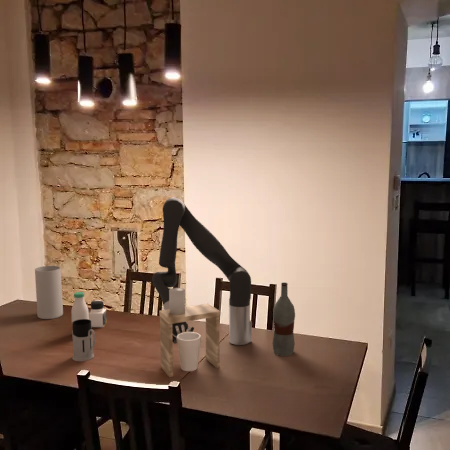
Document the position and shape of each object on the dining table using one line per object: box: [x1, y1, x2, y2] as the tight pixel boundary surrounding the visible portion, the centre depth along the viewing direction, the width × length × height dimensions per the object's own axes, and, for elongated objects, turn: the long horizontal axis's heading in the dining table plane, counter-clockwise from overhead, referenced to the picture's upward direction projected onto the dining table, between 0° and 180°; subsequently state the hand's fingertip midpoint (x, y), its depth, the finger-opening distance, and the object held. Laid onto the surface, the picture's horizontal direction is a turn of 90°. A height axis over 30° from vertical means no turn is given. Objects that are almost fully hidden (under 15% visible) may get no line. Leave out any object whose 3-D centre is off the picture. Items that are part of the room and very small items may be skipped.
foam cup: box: [176, 331, 202, 372], centre depth 199 cm, size 10×9×13 cm
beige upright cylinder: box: [169, 287, 186, 315], centre depth 195 cm, size 6×6×9 cm
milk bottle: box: [70, 291, 89, 333], centre depth 235 cm, size 8×8×20 cm
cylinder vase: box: [34, 265, 64, 320], centre depth 262 cm, size 12×12×25 cm
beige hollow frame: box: [158, 303, 221, 378], centre depth 199 cm, size 21×11×23 cm, turn 116°
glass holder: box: [71, 319, 96, 362], centre depth 208 cm, size 9×14×15 cm, turn 44°
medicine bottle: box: [88, 299, 108, 328], centre depth 249 cm, size 7×7×12 cm
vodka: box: [272, 282, 296, 357], centre depth 213 cm, size 9×9×30 cm
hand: (184, 351), depth 204 cm, fingers closed
